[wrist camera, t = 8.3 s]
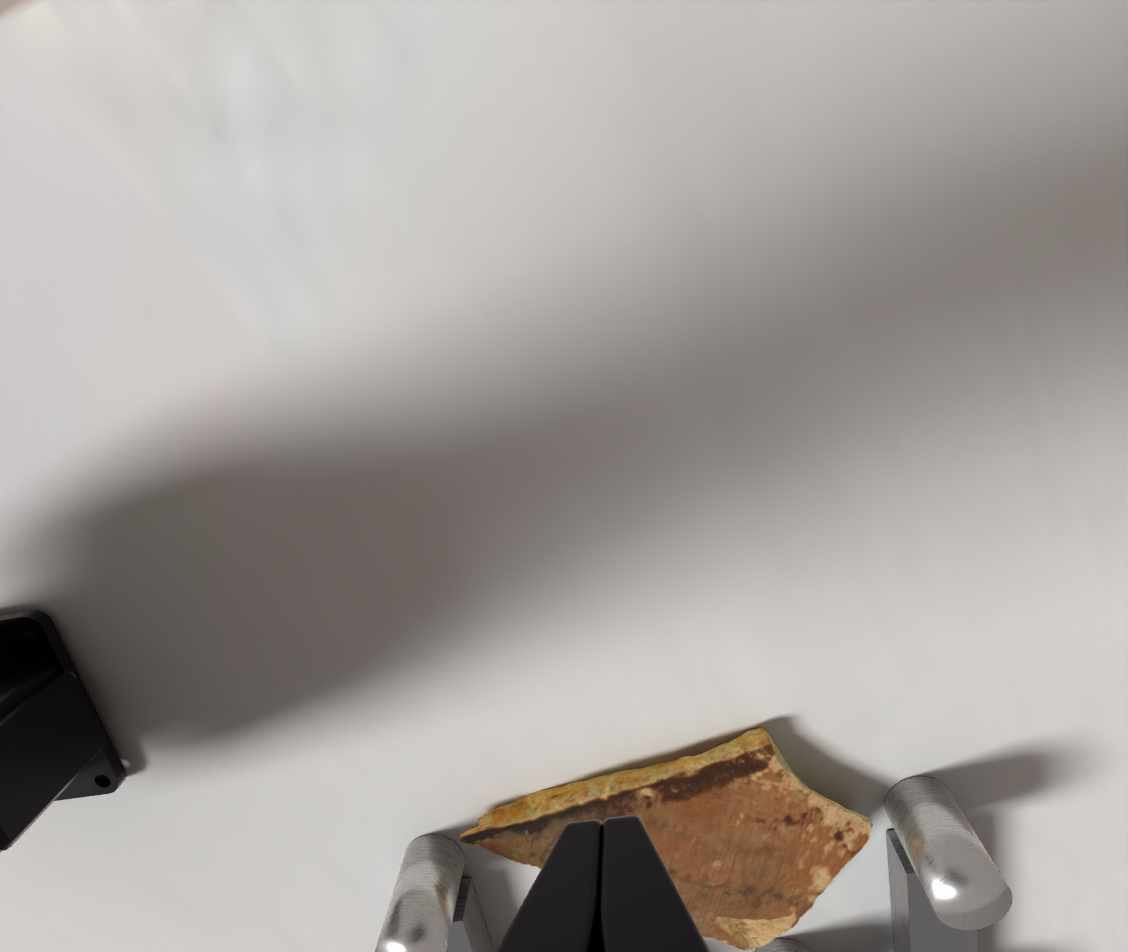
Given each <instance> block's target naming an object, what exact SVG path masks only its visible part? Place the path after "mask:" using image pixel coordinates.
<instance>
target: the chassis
mask: <svg viewBox="0 0 1128 952" xmlns="http://www.w3.org/2000/svg"><path fill="white" fill-rule="evenodd" d="M885 811H886V813H887V815H888V817H889V819H890V821H891V823H892V825H893V828H894V830H889V831H886V835H887V850H888V865H889V880H890V895H891V910H892V925H893V940H894V952H978V929H981V928H985V927H988V926H990V925H992V924H994V923H996V922H998V921H999V920H1000V919H1002V918H1003V917H1004V916H1005V915H1006V913H1007V912H1008V911H1009V909H1010V907H1011V904H1012V893H1011V890H1010V888H1009V887H1008V885H1007V883H1006V882H1005V880H1004V878H1003V877H1002V875H1001V874H1000V872H999V870H998V869H997V867H996V865H995V864H994V862H993V861H992V859H991V857H990V856H989V854H988V853H987V851H986V849H985V848H984V846H983V844H982V843H981V841H980V840H979V838H978V836H977V835H976V833H975V831H974V830H973V828H972V827H971V825H970V823H969V822H968V820H967V819H966V817H965V815H964V814H963V812H962V810H961V809H960V807H959V806H958V804H957V802H956V801H955V799H954V797H953V796H952V794H951V793H950V791H949V789H948V788H947V787H946V785H945V784H943V783H942V782H941V781H939V780H937V779H935V778H931V777H925V776H918V777H912V778H908V779H905V780H903V781H901V782H899V783H898V784H896V785H895V786H894V787H893V788H892V789H891V790H890V791H889V793H888V794H887V796H886V799H885ZM464 864H465V857H464V854H463V851H462V850H461V848H460V847H459V846H458V845H457V844H456V843H455V842H454V841H452V840H450V839H448V838H446V837H443V836H439V835H425V836H421V837H419V838H416V839H415V840H413V841H412V842H411V843H410V844H409V845H408V847H407V849H406V852H405V855H404V859H403V862H402V865H401V868H400V872H399V875H398V878H397V881H396V885H395V888H394V891H393V895H392V898H391V901H390V904H389V908H388V911H387V914H386V917H385V921H384V924H383V927H382V930H381V934H380V937H379V940H378V943H377V947H376V950H375V952H494V950H493V947H492V943H491V940H490V937H489V934H488V930H487V927H486V924H485V921H484V918H483V914H482V911H481V908H480V905H479V902H478V898H477V895H476V892H475V889H474V885H473V882H472V879H471V878H462V873H463V869H464ZM461 878H462V879H461ZM754 952H808V950H807V949H806V948H805V947H804V946H803V945H802V944H800V943H798V942H796V941H794V940H790V939H774V940H772V941H771V942H769V943H767V944H766V945H764V946H762V947H758V948H757V949H756V950H755V951H754Z"/></svg>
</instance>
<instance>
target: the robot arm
mask: <svg viewBox="0 0 1128 952" xmlns="http://www.w3.org/2000/svg"><path fill="white" fill-rule="evenodd" d="M30 625H31V626H33V627H34V628H35V630H36V631H35V630H33V629H32V627H31V626H30ZM125 777H126V773H125V769H124V767H123V765H122V763H121V761H120V759H119V757H118V755H117V753H116V751H115V749H114V747H113V744H112V742H111V740H110V738H109V736H108V734H107V732H106V730H105V728H104V726H103V724H102V722H101V720H100V718H99V716H98V713H97V711H96V709H95V707H94V705H93V703H92V701H91V699H90V697H89V695H88V693H87V691H86V689H85V687H84V684H83V682H82V680H81V678H80V676H79V674H78V672H77V670H76V668H75V666H74V664H73V662H72V660H71V658H70V656H69V653H68V651H67V649H66V647H65V645H64V643H63V641H62V639H61V637H60V635H59V633H58V631H57V629H56V627H55V624H54V622H53V621H52V620H51V618H50V617H49V616H48V615H47V614H45V613H44V612H41V611H38V610H27V611H21V612H15V613H9V614H3V615H0V852H1V851H3V850H7V849H8V848H10V847H11V846H12V845H13V844H14V843H15V842H16V841H17V840H18V839H19V837H20V836H21V835H22V834H23V833H24V832H25V831H26V830H27V829H28V828H29V827H30V826H31V825H32V824H33V823H34V822H35V820H36V819H37V818H38V817H39V816H40V815H41V814H42V813H43V812H44V811H45V810H46V809H47V808H48V807H49V806H50V805H51V803H52V802H53V801H57V800H64V799H72V798H79V797H87V796H94V795H102V794H109V793H112V792H114V791H115V790H116V789H117V788H118V787H119V786H120V785H121V784H122V782H123V781H124V780H125ZM496 952H710V950H709V948H708V947H707V945H706V943H705V941H704V939H703V937H702V935H701V933H700V931H699V929H698V927H697V926H696V924H695V922H694V920H693V918H692V916H691V914H690V912H689V910H688V908H687V906H686V905H685V903H684V901H683V899H682V897H681V895H680V893H679V891H678V889H677V887H676V885H675V884H674V882H673V880H672V878H671V876H670V874H669V872H668V870H667V868H666V866H665V864H664V863H663V861H662V859H661V857H660V855H659V853H658V851H657V849H656V847H655V845H654V843H653V842H652V840H651V838H650V836H649V834H648V832H647V830H646V828H645V826H644V824H643V822H642V821H641V819H640V818H639V817H638V816H636V815H628V816H619V817H610V818H607V819H606V820H605V821H604V824H603V823H602V821H600V820H598V819H592V820H583V821H575V822H570V823H568V824H567V825H566V826H565V827H564V829H563V831H562V833H561V834H560V836H559V838H558V840H557V842H556V844H555V845H554V847H553V849H552V851H551V853H550V855H549V856H548V858H547V860H546V862H545V864H544V865H543V867H542V869H541V871H540V873H539V875H538V876H537V878H536V880H535V882H534V884H533V885H532V887H531V889H530V891H529V893H528V895H527V896H526V898H525V900H524V902H523V904H522V905H521V907H520V909H519V911H518V913H517V915H516V916H515V918H514V920H513V922H512V924H511V925H510V927H509V929H508V931H507V933H506V935H505V936H504V938H503V940H502V942H501V944H500V945H499V947H498V949H497V951H496Z"/></svg>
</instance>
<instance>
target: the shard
mask: <svg viewBox="0 0 1128 952" xmlns="http://www.w3.org/2000/svg"><path fill="white" fill-rule="evenodd" d="M628 815H636V816H638V817H639V818H640V819H641V821H642V822H643V824H644V826H645V828H646V830H647V832H648V834H649V836H650V838H651V840H652V842H653V843H654V845H655V847H656V849H657V851H658V853H659V855H660V857H661V859H662V861H663V863H664V864H665V866H666V868H667V870H668V872H669V874H670V876H671V878H672V880H673V882H674V884H675V885H676V887H677V889H678V891H679V893H680V895H681V897H682V899H683V901H684V903H685V905H686V906H687V908H688V910H689V912H690V914H691V916H692V918H693V920H694V922H695V924H696V926H697V927H698V929H699V931H700V933H701V935H702V936H703V937H711V938H714V939H717V940H719V941H722V942H725V943H727V944H730V945H733V946H735V947H737V948H739V949H743V950H749V949H753V948H758V947H762V946H764V945H766V944H767V943H769V942H771V941H772V940H773V939H775V938H776V937H778V936H780V935H781V934H782V933H785V932H787V931H788V930H789V929H791V928H793V927H794V926H795V925H796V924H797V923H798V920H799V918H800V917H802V916H803V915H804V914H805V913H806V912H807V911H808V910H809V909H810V908H811V907H812V906H813V904H814V902H815V899H816V898H817V897H818V896H819V895H820V894H821V893H822V892H824V890H825V889H826V887H827V886H828V885H829V884H830V883H831V882H832V880H833V879H834V878H835V877H836V875H837V874H838V873H839V871H840V870H841V869H842V868H843V867H844V866H845V865H846V864H847V863H848V862H849V861H850V860H851V859H852V858H853V857H854V856H855V855H856V854H857V853H858V852H859V851H860V850H861V849H862V848H863V846H864V845H865V844H866V842H867V841H868V840H869V839H870V831H871V828H872V825H873V824H872V822H871V820H870V818H869V817H867V816H865V815H862V814H858V813H856V812H854V811H852V810H849V809H846V808H844V807H843V806H841V805H840V804H838V803H836V802H834V801H833V800H830V799H827V798H825V797H823V796H821V795H820V794H818V793H817V792H815V791H813V790H811V789H809V788H808V787H807V786H806V785H805V784H804V783H802V781H801V780H800V778H799V777H798V776H797V775H796V773H795V772H793V771H792V770H791V769H790V767H789V765H788V763H787V762H786V760H785V759H784V757H783V755H782V754H781V752H780V751H779V749H778V747H777V746H776V744H775V743H774V741H773V740H772V738H771V736H770V734H769V733H768V732H767V730H766V729H765V728H763V727H761V728H758V729H755V730H748V731H747V732H745V733H744V734H742V735H741V736H739V737H737V738H735V739H733V740H732V741H730V742H728V743H724V744H720V745H719V746H716V747H713V748H712V749H710V750H709V751H705V752H704V753H702V754H699V755H696V756H685V757H681V758H680V759H678V760H674V761H668V762H664V763H658V764H654V765H651V766H648V767H643V768H638V769H629V770H623V771H618V772H614V773H612V774H607V775H602V776H597V777H594V778H591V779H588V780H583V781H582V780H581V781H577V782H572V783H568V784H566V785H564V786H560V787H553V788H550V789H545V790H540V791H538V792H536V793H533V794H530V795H528V796H524V797H521V798H519V799H518V800H516V801H515V802H512V803H510V804H506V805H502V806H499V807H497V808H495V809H494V810H492V811H489V812H488V813H486V814H485V815H484V816H483V817H481V818H479V819H478V826H477V827H475V828H472V829H469V830H466V831H465V832H464V833H462V834H461V835H460V836H459V839H460V841H462V842H464V843H470V844H474V845H478V846H481V847H484V848H486V849H488V850H490V851H492V852H494V853H496V854H500V855H502V856H504V857H506V858H508V859H510V860H514V861H516V862H520V863H523V864H528V865H531V866H537V867H538V868H540V869H542V867H543V865H544V864H545V862H546V860H547V858H548V856H549V855H550V853H551V851H552V849H553V847H554V845H555V844H556V842H557V840H558V838H559V836H560V834H561V833H562V831H563V829H564V827H565V826H566V825H567V824H568V823H570V822H575V821H583V820H592V819H598V820H600V821H602V823H603V824H604V821H605V820H606V819H607V818H610V817H619V816H628Z"/></svg>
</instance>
